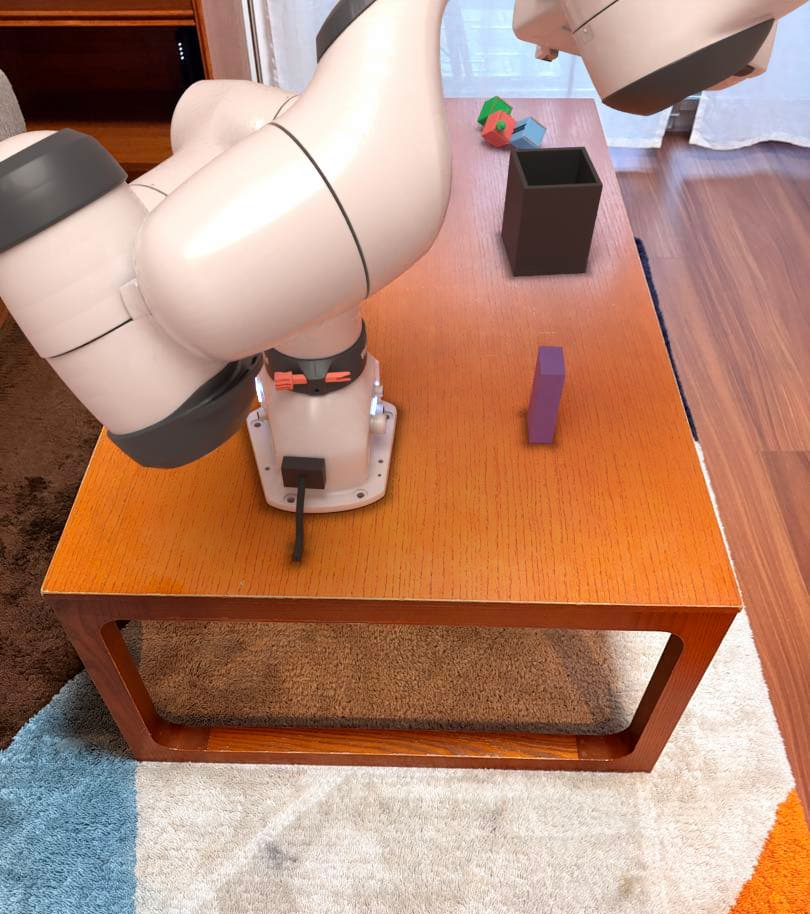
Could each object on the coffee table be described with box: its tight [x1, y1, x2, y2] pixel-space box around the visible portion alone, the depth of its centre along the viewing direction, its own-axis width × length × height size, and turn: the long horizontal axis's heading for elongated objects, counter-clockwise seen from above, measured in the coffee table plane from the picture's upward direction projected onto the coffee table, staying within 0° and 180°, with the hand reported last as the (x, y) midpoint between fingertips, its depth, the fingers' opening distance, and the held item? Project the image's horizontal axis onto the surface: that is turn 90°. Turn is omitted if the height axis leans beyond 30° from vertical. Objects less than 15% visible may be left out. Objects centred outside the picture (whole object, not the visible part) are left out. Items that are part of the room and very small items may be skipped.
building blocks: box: [477, 95, 548, 149], centre depth 145 cm, size 8×8×12 cm
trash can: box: [500, 146, 604, 277], centre depth 121 cm, size 11×11×14 cm
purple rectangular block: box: [526, 345, 567, 445], centre depth 98 cm, size 5×3×11 cm, turn 177°
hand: (589, 63), depth 74 cm, fingers open, 8 cm apart
